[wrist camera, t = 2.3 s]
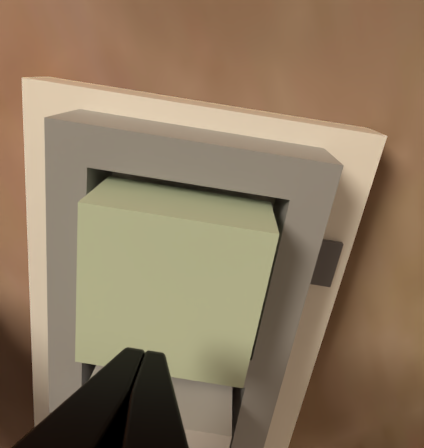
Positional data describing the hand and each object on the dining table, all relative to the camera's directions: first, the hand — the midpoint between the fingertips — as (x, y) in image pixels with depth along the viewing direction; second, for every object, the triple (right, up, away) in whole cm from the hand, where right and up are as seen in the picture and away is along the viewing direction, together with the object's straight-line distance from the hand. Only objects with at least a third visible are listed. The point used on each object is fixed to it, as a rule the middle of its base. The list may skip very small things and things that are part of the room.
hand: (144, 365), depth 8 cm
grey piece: (0, -3, +11) cm, 11 cm away
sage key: (0, +2, +4) cm, 5 cm away
